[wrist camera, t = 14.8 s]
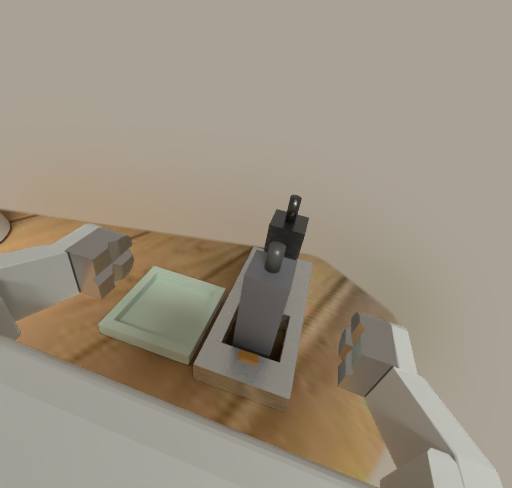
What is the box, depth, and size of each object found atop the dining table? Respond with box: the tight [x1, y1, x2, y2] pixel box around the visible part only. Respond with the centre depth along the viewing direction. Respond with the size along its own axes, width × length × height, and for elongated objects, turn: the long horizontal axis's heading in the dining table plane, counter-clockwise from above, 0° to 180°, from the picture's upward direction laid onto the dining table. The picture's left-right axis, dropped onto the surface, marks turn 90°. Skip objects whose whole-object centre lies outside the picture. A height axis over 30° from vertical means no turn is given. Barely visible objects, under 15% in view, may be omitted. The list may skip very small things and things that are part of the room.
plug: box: [232, 241, 298, 359], centre depth 26 cm, size 4×4×13 cm
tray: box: [98, 266, 226, 365], centre depth 31 cm, size 10×10×2 cm
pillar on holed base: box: [193, 195, 313, 412], centre depth 29 cm, size 20×9×14 cm, turn 164°
